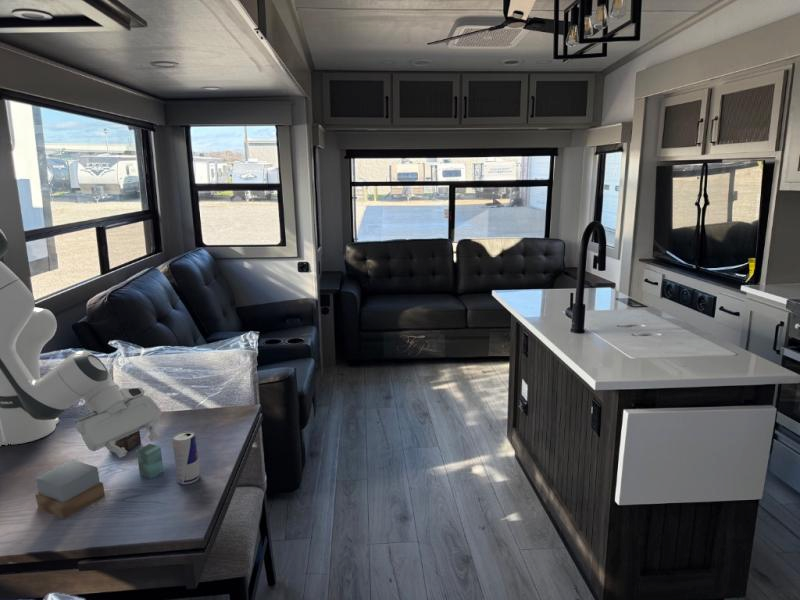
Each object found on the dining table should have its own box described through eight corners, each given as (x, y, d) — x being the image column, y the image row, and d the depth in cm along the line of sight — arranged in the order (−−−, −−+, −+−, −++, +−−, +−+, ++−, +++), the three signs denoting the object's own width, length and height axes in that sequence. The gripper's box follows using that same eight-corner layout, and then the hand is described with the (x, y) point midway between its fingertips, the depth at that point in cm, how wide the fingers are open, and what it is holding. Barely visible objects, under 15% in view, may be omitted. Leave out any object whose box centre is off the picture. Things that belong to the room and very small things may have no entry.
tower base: (38, 509, 132) (35, 493, 131) (78, 487, 140) (76, 473, 139) (64, 520, 127) (62, 504, 126) (105, 497, 136) (102, 482, 135)
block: (139, 475, 145) (136, 450, 143) (152, 468, 148) (149, 443, 147) (150, 478, 143) (147, 453, 141) (163, 471, 146) (160, 446, 145)
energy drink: (204, 477, 143) (199, 433, 141) (187, 487, 139) (182, 442, 136) (190, 471, 146) (185, 429, 143) (172, 481, 142) (167, 437, 139)
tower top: (38, 493, 131) (36, 477, 130) (75, 474, 139) (72, 459, 138) (63, 502, 127) (60, 486, 126) (99, 482, 135) (97, 467, 134)
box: (127, 452, 157) (124, 428, 155) (108, 451, 158) (105, 426, 156) (141, 442, 162) (138, 418, 161) (123, 440, 164) (119, 417, 162)
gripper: (75, 414, 136) (107, 459, 134) (147, 385, 154) (176, 425, 152) (67, 427, 139) (98, 472, 137) (138, 398, 157) (166, 437, 155)
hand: (140, 447), depth 144 cm, fingers open, 8 cm apart
